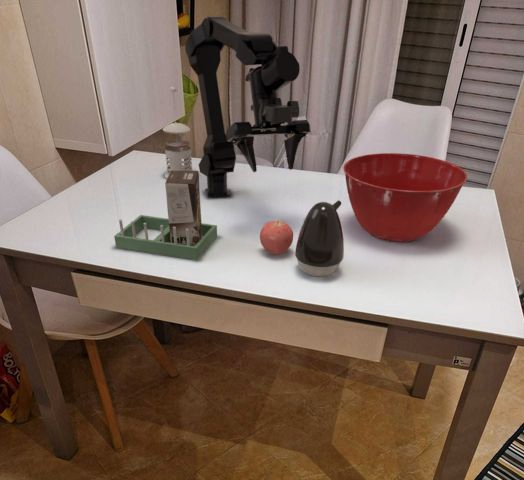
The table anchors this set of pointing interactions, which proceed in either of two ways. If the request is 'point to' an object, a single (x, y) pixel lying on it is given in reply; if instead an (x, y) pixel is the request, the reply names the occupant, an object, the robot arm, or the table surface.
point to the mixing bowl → (401, 193)
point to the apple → (276, 237)
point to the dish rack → (162, 238)
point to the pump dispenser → (320, 240)
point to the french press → (177, 147)
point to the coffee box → (184, 206)
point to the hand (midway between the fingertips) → (273, 170)
